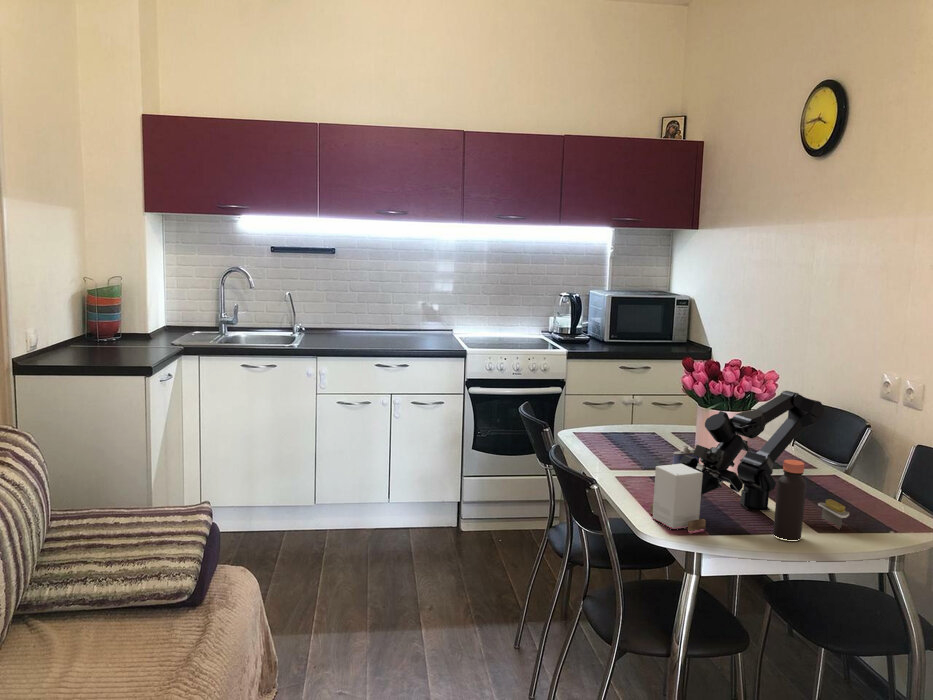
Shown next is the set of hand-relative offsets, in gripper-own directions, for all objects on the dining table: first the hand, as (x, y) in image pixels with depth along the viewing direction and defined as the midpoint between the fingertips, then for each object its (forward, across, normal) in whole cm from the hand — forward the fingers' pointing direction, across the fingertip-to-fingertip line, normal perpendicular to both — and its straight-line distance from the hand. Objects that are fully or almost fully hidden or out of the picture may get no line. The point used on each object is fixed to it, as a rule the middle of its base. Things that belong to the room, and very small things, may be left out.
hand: (692, 497), depth 214 cm
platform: (-18, +19, +29) cm, 39 cm away
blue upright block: (-12, -28, +22) cm, 37 cm away
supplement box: (+9, 0, +1) cm, 9 cm away
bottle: (-5, +20, +15) cm, 25 cm away
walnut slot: (+8, 0, +1) cm, 8 cm away
